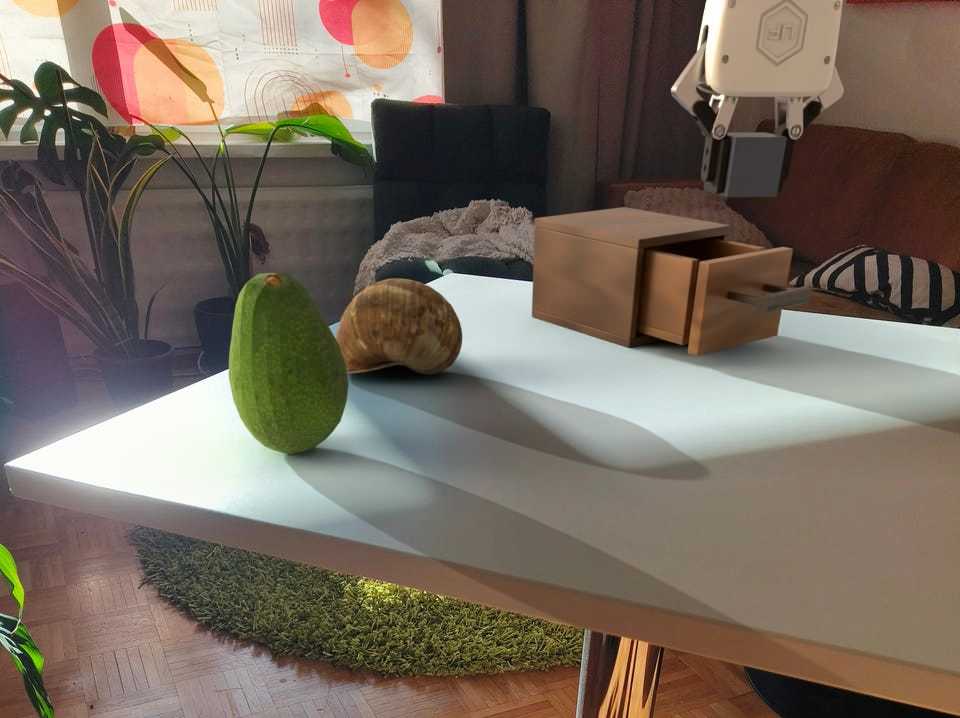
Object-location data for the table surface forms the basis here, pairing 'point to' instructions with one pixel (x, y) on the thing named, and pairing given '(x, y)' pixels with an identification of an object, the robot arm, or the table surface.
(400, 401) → the table surface
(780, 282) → the drawer
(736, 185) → the block
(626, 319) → the cabinet
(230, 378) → the fruit
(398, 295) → the seashell
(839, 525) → the table surface
